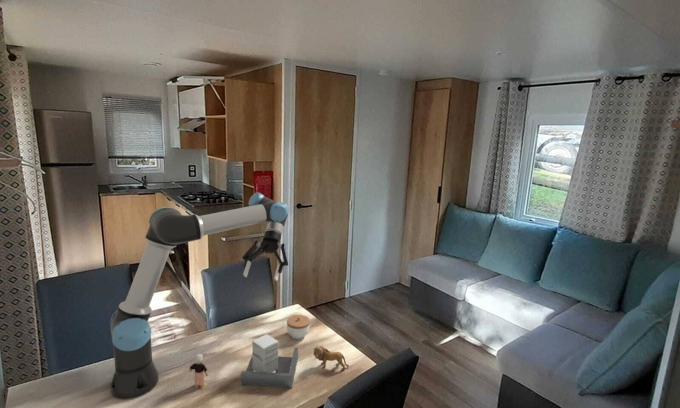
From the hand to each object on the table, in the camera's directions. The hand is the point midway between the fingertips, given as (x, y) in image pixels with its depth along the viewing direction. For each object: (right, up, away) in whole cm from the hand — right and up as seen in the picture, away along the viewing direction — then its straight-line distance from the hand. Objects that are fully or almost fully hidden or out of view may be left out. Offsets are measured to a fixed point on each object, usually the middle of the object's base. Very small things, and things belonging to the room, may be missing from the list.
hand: (260, 277), depth 150 cm
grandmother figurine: (-18, -36, -18) cm, 44 cm away
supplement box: (+4, -35, -8) cm, 36 cm away
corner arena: (+6, -35, -8) cm, 37 cm away
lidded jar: (+14, -31, +18) cm, 38 cm away
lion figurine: (+29, -36, -4) cm, 46 cm away
